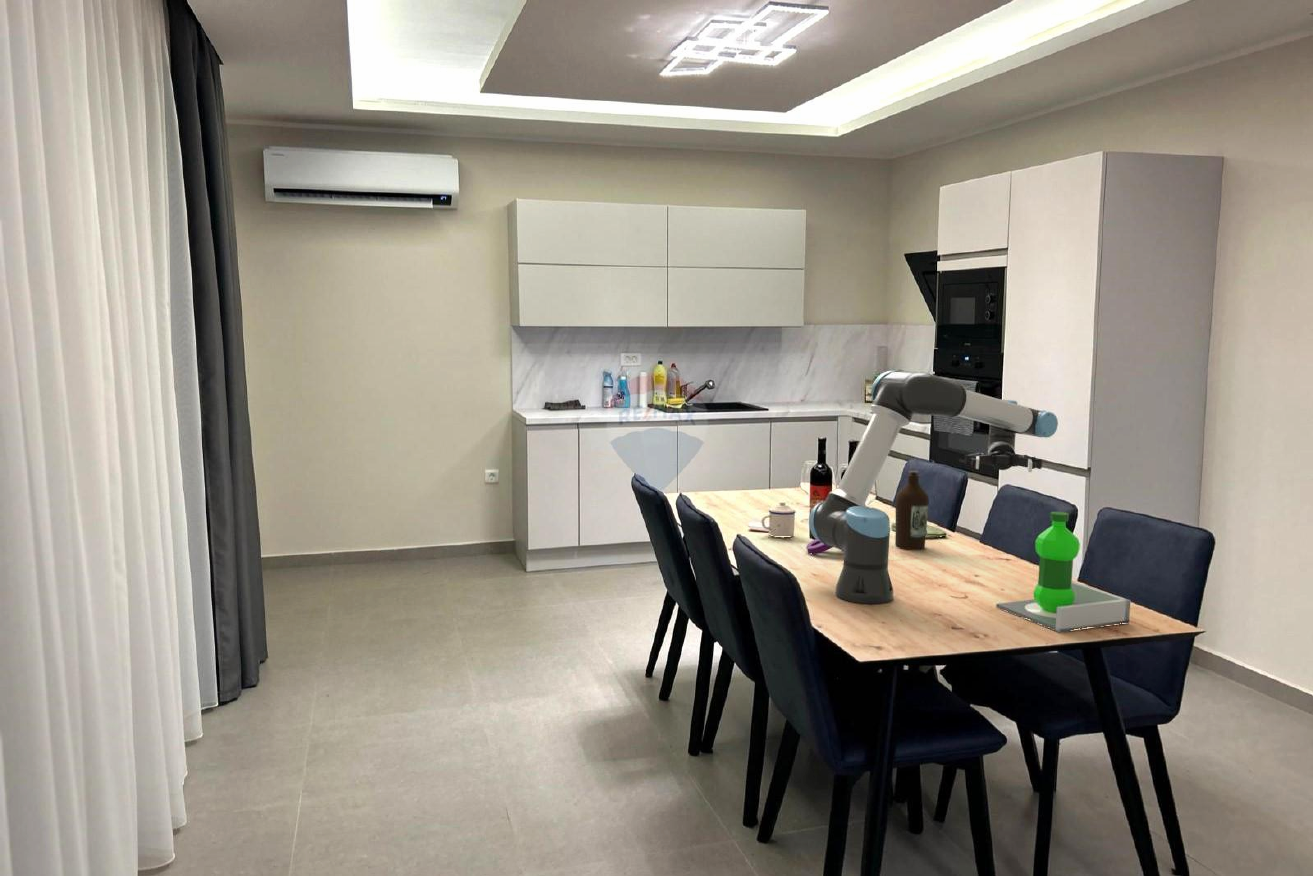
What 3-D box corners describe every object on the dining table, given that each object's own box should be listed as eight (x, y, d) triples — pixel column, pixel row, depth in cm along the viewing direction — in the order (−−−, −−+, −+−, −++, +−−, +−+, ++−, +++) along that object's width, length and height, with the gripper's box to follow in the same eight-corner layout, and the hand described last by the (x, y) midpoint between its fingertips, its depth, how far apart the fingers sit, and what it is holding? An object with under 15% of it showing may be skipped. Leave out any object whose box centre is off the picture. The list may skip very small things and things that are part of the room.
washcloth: (917, 541, 331) (917, 532, 331) (888, 530, 348) (888, 521, 347) (949, 539, 335) (950, 530, 335) (919, 528, 352) (920, 520, 352)
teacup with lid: (787, 532, 340) (789, 499, 339) (799, 537, 331) (800, 504, 330) (756, 533, 336) (757, 500, 335) (766, 539, 328) (767, 505, 326)
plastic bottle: (1079, 617, 242) (1086, 518, 239) (1034, 614, 244) (1041, 515, 241) (1070, 605, 252) (1077, 510, 249) (1027, 602, 254) (1033, 508, 251)
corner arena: (1060, 633, 233) (1061, 608, 232) (996, 607, 253) (997, 585, 252) (1128, 623, 241) (1130, 600, 240) (1061, 599, 261) (1063, 578, 261)
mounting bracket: (819, 575, 306) (872, 551, 305) (808, 551, 305) (861, 527, 304) (814, 567, 315) (865, 544, 315) (803, 544, 314) (855, 521, 314)
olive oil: (886, 544, 323) (890, 470, 320) (911, 542, 328) (915, 468, 325) (908, 551, 314) (911, 475, 311) (933, 548, 319) (937, 473, 316)
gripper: (1046, 471, 281) (1052, 482, 261) (956, 465, 289) (955, 476, 269) (1048, 445, 280) (1054, 454, 260) (957, 440, 288) (956, 449, 268)
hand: (1003, 465), depth 265 cm, fingers open, 13 cm apart
